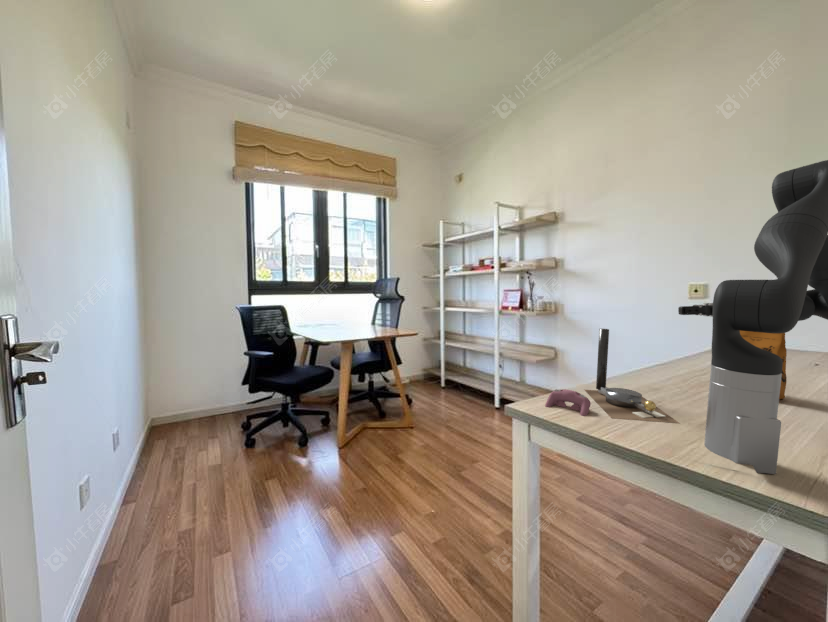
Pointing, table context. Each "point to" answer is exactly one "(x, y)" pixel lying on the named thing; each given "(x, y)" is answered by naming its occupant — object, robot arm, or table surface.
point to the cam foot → (616, 394)
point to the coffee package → (770, 349)
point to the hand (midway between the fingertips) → (680, 310)
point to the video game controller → (569, 400)
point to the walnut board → (629, 410)
